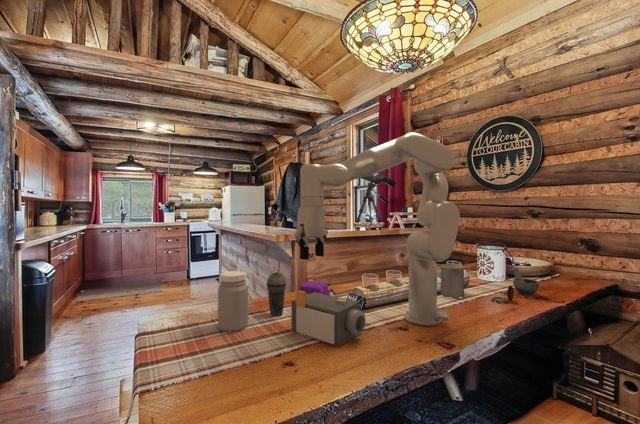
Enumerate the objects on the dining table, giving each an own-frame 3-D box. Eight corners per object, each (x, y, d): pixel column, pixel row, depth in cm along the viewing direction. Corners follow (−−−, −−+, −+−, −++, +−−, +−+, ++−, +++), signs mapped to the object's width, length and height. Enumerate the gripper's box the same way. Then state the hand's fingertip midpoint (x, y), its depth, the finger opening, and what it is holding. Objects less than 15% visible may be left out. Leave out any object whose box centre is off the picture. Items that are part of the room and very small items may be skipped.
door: (334, 343, 86) (334, 298, 86) (333, 344, 86) (333, 298, 85) (298, 331, 95) (297, 289, 95) (296, 331, 94) (296, 290, 94)
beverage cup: (267, 311, 116) (267, 259, 115) (286, 310, 116) (286, 259, 116) (265, 318, 108) (265, 262, 108) (286, 317, 109) (285, 262, 109)
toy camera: (332, 312, 114) (332, 286, 114) (297, 310, 117) (297, 284, 117) (336, 304, 125) (336, 279, 125) (304, 301, 127) (304, 278, 127)
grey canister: (446, 291, 143) (446, 260, 143) (467, 295, 136) (467, 262, 136) (436, 295, 137) (436, 262, 136) (458, 300, 129) (458, 265, 129)
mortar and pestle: (543, 297, 134) (544, 270, 133) (531, 300, 129) (532, 272, 129) (517, 291, 144) (517, 266, 143) (505, 293, 139) (505, 267, 139)
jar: (211, 330, 98) (211, 275, 97) (230, 320, 107) (230, 269, 107) (237, 334, 94) (236, 277, 94) (254, 323, 103) (254, 271, 103)
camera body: (369, 336, 93) (369, 301, 93) (348, 350, 84) (348, 312, 84) (314, 320, 106) (314, 289, 106) (291, 331, 97) (291, 298, 97)
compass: (489, 299, 132) (490, 282, 132) (510, 301, 129) (511, 284, 129) (493, 304, 124) (493, 286, 124) (515, 306, 121) (516, 288, 121)
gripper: (319, 203, 107) (319, 253, 107) (284, 202, 93) (285, 260, 93) (336, 203, 102) (336, 255, 102) (303, 202, 88) (303, 262, 89)
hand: (312, 257), depth 98 cm, fingers open, 7 cm apart
